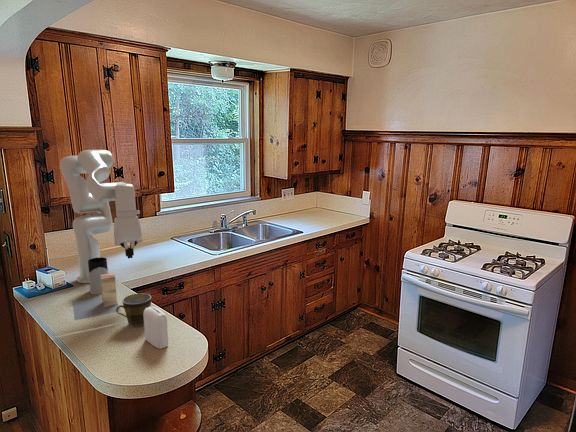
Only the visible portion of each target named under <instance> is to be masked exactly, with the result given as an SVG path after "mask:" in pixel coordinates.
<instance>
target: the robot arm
mask: <svg viewBox="0 0 576 432" xmlns="http://www.w3.org/2000/svg"><path fill="white" fill-rule="evenodd" d="M114 160H115V159H114V156H113V154H112V153H111V152H110V151H109V150H107V149H86V150H81V151H80V152H79V153H78V155H77V154H76V155H68V156H64V157H63V158H62V159H61V160H60V163H59V165H60V167H59V168H60V172H61V174H62V177H63V179H64V181H65V183H66V184H67V188H68V193H69V198H70V203H71V207H72V210H73V211H74V213H76V214H85V213H96V212H97V214H90V215H89V214H88V215H82V216H78V217H76V218H74V219H73V221H72V230H73V232H74V236H75V237H74V238H75V241H76V242H75V243H76V250H77V260H78V269H79V276H78V277H76V282H77V283H80V284H90V282H89V272H88V271H89V267H88V260H90V259H93V258H100V257H101V251H100V249H101V248H100V242H99V241H98V240H97V239H96V238H95V237H94V236H95V235H99V234H100V235H101V234H104V233H109V232H111V231H112V230H113V238H114V245H115V246H118V247H119V246H120V247H122V248H123V249H124V251H125V257H127V259H133V256H134V255H135V253H134V252H135V250H134V248H135V247H136V246H137V245H138V244H140V243H141V244H142V243H143V238H142V237H143V235H142V234H143V233H142V228H141V223H140V219H139V216H138V214H139V215H140V214H141V211H140V210H137V208H136V194H135V186H134V185H133V184H131V183H126V182H123V181H120V182H119V181H118V182H117V181H116V182H104V181H106V179H108V177H110V174H111V170H110V169H111V168H113V166H114ZM80 174H87V175H88V176H87V178H86V179H85V178H84V177H83V176H82V175H80ZM102 182H103V183H102ZM110 202H115V203H114V204H115V214H116V217H114V221H113V216H112V213H111V207H110ZM129 242H130V243H129ZM128 243H129V244H128ZM128 245H129V246H128Z"/></svg>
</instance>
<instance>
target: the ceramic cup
mask: <svg viewBox="0 0 576 432" xmlns="http://www.w3.org/2000/svg"><path fill="white" fill-rule="evenodd" d="M151 305H152V296H151V294H149V293H143V292H141V293H133V294H130V295H127V296H125V297H124V298H123V299H122V304H121V305H119V306H118V307H117V309H116V312H115V313H117V314H118V315H121V316H123V317H125V318H126V319H127V323H128V326H129V327H131V328H132V329H133V328H142V327H144V316H143V313H144V310H145V309H146V308H148V307H152V306H151ZM119 308H120V309H121V308H123V309H124V312H125V314H124V313H121V312H120V311H119V312H118V309H119Z"/></svg>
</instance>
